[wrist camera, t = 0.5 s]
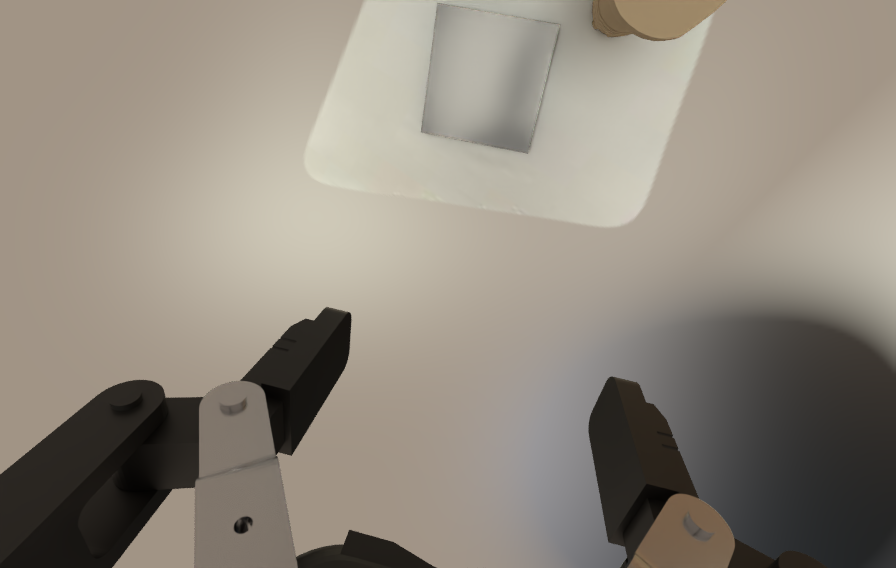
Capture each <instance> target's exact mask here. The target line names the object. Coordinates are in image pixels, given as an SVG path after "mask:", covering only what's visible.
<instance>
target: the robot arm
mask: <svg viewBox="0 0 896 568" xmlns="http://www.w3.org/2000/svg"><path fill="white" fill-rule="evenodd" d="M350 333H351V313H349V312H345V311H341V310H337V309H333V308H329V307H326V308H325V309H324V310H323V311H322V312H321V313H320V314H319V315H318V317H317V318H316V319H315V320H314V321H313V320H309V319H304V320H302V321H300V322H298V323H296V324H294V325H293V326H291V327H290V328H289V329H288V330H287V331H286V332H285V333H284V334H283V335H282V336H281V339H279V340H278V341H277V342H276V343H275V344H274V345H273V347H272V348H270V350H268V351H267V352H266V354H265V355H264V356H263V357H262V358H261V359H260V360H259V361H258V362H257V363H256V364H255V365H254V366H253V368H252V369H251V370H250V371H249V372H248V373H247V374H246V375H245V376H244V377H243V378H242V379H241V380H240V381H234V382H229V383H225V384H222V385H220V386H218V387H216V388H214V389H212V390H211V391H210V392H208V393H207V394H206V395H205V396H204V397H196V398H195V397H192V398H165V393H164V390H163V388H162V386H160V385H159V384H157V383H155V382H153V381H148V380H133V381H128V382H124V383H120V384H117V385H115V386H112V387H110V388H108V389H106V390H105V391H103V392H101V393H100V394H99V395H97V396H96V397H95V398H94V399H92V400H91V401H90V402H89V403H87V404H86V405H85V406H84V407H83V408H81V409H80V410H79V411H78V412H77V413H75V414H74V415H73V416H72V417H70V418H69V419H68V420H67V421H66V422H64V423H63V424H62V425H61V426H60V427H58V428H57V429H56V430H54V431H53V432H52V433H51V434H49V435H48V436H47V437H46V438H45V439H43V440H42V441H41V442H40V443H38V444H37V445H36V446H35V447H34V448H32V449H31V450H30V451H29V452H27V453H26V454H25V455H24V456H23V457H21V458H20V459H19V460H18V461H16V462H15V463H14V464H13V465H12V466H10V467H9V468H8V469H7V470H5V471H4V472H3V473H2V474H0V568H112V567H113V566H114V565H115V563H116V562H117V561H118V559H119V558H120V557H121V556H122V554H123V553H124V552H125V550H126V549H127V548H128V546H129V545H130V543H132V541H133V540H134V539H135V537H136V536H137V535H138V533H139V532H140V531H141V530H142V528H143V527H144V526H145V524H146V523H147V522H148V521H149V519H150V518H151V517H152V515H153V514H154V513H155V511H156V510H157V509H158V507H159V506H160V505H161V504H162V502H163V501H164V500H165V499H166V497H167V496H168V495H169V493H170V492H171V491H172V489H179V488H194V487H195V553H194V554H195V557H194V564H195V565H194V568H436V567H434V566H432V565H430V564H428V563H427V562H425V561H424V560H422V559H420V558H419V557H417V556H415V555H414V554H412V553H411V552H409V551H407V550H406V549H404V548H402V547H400V546H399V545H397V544H396V543H394V542H391V541H388V540H384V539H380V538H376V537H373V536H370V535H366V534H362V533H359V532H355V531H352V530H349V532H348V535H347V537H346V540H345V543H344V545H332V546H325V547H321V548H317V549H314V550H311V551H308V552H306V553H303V554H301V555H299V556H297V557H296V555H295V549H294V544H293V538H292V532H291V527H290V521H289V515H288V510H287V504H286V499H285V493H284V487H283V482H282V476H281V471H280V465H279V461H278V457H277V456H276V455H277V453H278V452H280V453H283V454H287V455H291V456H292V454H293V452H294V451H295V449H296V448H297V446H298V444H299V443H300V441H301V440H302V438H303V436H304V435H305V433H306V431H307V430H308V428H309V426H310V425H311V423H312V422H313V420H314V418H315V417H316V415H317V413H318V411H319V410H320V408H321V407H322V405H323V403H324V402H325V400H326V399H327V397H328V395H329V394H330V392H331V390H332V389H333V387H334V385H335V384H336V382H337V381H338V379H339V377H340V376H341V374H342V372H343V371H344V369H345V366H346V364H347V360H348V356H349V349H350ZM672 436H673V435H672V432H671V430H670V427H669V425H668V422H667V420H666V419H665V418H664V416H663V415H662V414H661V413H660V411H659V410H658V409H657V408H656V407H655V406H654V404H650V403H646V401H645V399H644V396H643V393H642V390H641V388H640V385H639V384H638V383H637V382H633V381H629V380H624V379H620V378H616V377H609V378H608V380H607V381H606V383H605V386H604V387H603V390H602V392H601V394H600V396H599V398H598V400H597V402H596V404H595V406H594V408H593V411H592V413H591V416H590V420H589V438H590V443H591V449H592V454H593V460H594V465H595V470H596V476H597V481H598V487H599V493H600V498H601V504H602V509H603V515H604V521H605V526H606V531H607V537H608V542H610V543H613V544H618V545H621V546H625V548H626V553H627V558H626V560H625V561H624V562H623V564H622V565H621V567H620V568H827V567H826V566H824V565H823V564H822V563H820V562H819V561H817V560H815V559H814V558H812V557H810V556H808V555H806V554H803V553H800V552H796V551H786V552H784V553H782V554H781V555H780V556H779V557H778V558H777V559H776V560H774V559H772V558H770V557H768V556H766V555H764V554H763V553H760V552H759V551H757V550H755V549H753V548H751V547H749V546H748V545H746V544H744V543H742V542H740V541H739V540H737V539H735V538H734V536H733V534H732V532H731V530H730V528H729V526H728V524H727V523H726V522H725V520H724V519H723V518H722V517H721V516H720V515H719V513H717V512H716V511H715V510H714V509H713V508H712V507H711V506H709V505H708V504H707V503H705V502H703V501H702V500H700V499H699V497H698V495H697V493H696V490H695V488H694V486H693V483H692V480H691V478H690V476H689V473H688V471H687V468H686V466H685V464H684V461H683V459H682V456H681V454H680V452H679V451H678V447H677V445H676V442H675V439H674V438H672Z"/></svg>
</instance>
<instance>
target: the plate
mask: <svg viewBox="0 0 896 568" xmlns="http://www.w3.org/2000/svg"><path fill="white" fill-rule="evenodd" d="M559 27H560V24H555V23H549V22H543V21H538V20H532V19H526V18H520V17H515V16H509V15H503V14H498V13H492V12H486V11H480V10H475V9H469V8H463V7H458V6H452V5H446V4H440V3H438V4H437V11H436V19H435V27H434V35H433V43H432V50H431V58H430V66H429V74H428V82H427V89H426V97H425V105H424V113H423V121H422V128H421V132H422V133H427V134H432V135H437V136H442V137H447V138H452V139H457V140H462V141H467V142H472V143H477V144H482V145H487V146H492V147H497V148H503V149H508V150H513V151H518V152H523V153H528V152H529V148H530V144H531V140H532V136H533V132H534V127H535V123H536V119H537V115H538V111H539V107H540V103H541V99H542V95H543V91H544V87H545V83H546V79H547V75H548V71H549V67H550V63H551V59H552V55H553V51H554V47H555V43H556V39H557V35H558V31H559Z"/></svg>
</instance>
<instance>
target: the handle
mask: <svg viewBox="0 0 896 568" xmlns="http://www.w3.org/2000/svg"><path fill="white" fill-rule="evenodd" d="M725 2H726V0H593V9H592V13H593V22H592V25H593V27H594V29H599V30H600V31H601V32H603V33H604V34H606V35H607V36H608V37H616V36H617V37H618V36H625V35H629V34H634V35H636V36H639V37H641V38H643V39H647V40H652V41H665V40H672V39H676V38H679V37H681V36H682V35H684V34H685V33H687V32H688V31H689V30H691V29H692V28H694V27H695V26H696V25H698V24H699V23H700V22H702V21H703V20H704V19H706V18H707V17H708V16H710V15H711V14H712V13H714V12H715V11H716V10H717V9H718V8H719V7H720V6H721V5H722V4H723V3H725Z"/></svg>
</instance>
